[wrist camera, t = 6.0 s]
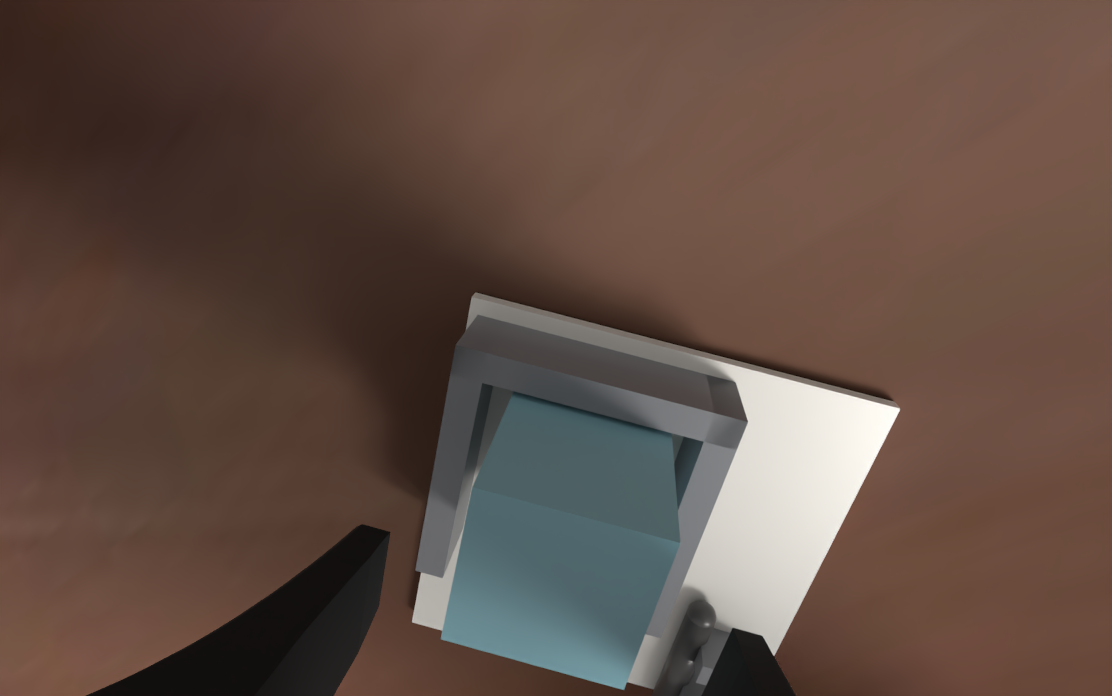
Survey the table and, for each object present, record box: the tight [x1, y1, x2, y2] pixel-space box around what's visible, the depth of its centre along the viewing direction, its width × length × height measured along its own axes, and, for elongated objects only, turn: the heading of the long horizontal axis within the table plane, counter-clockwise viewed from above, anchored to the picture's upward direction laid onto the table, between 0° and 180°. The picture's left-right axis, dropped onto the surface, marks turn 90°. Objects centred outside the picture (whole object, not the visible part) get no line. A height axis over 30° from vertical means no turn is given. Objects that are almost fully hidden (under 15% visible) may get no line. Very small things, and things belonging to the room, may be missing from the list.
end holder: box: [415, 315, 748, 638], centre depth 18 cm, size 7×7×3 cm
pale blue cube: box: [441, 391, 680, 690], centre depth 15 cm, size 5×4×6 cm
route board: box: [412, 292, 900, 696], centre depth 19 cm, size 12×12×2 cm
